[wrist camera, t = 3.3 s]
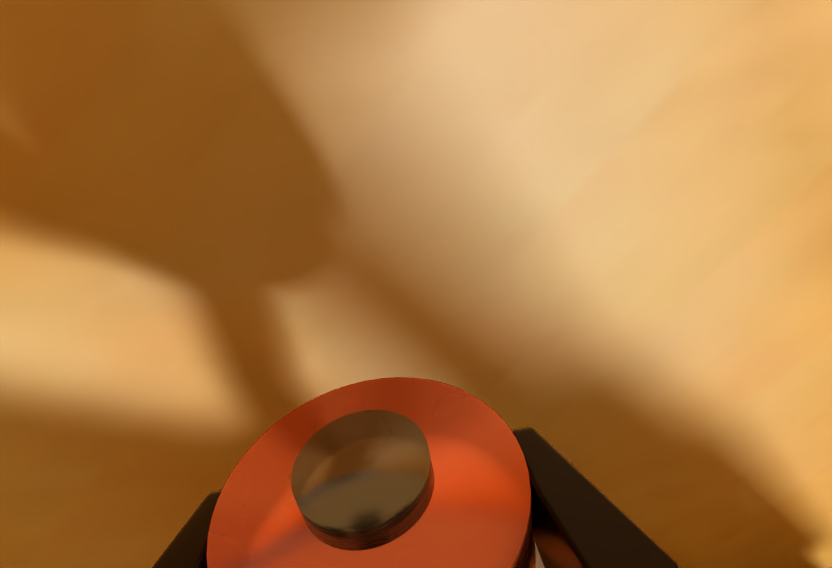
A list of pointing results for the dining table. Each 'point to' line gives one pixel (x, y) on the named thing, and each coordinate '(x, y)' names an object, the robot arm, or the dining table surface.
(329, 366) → the dining table surface
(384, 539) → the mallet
